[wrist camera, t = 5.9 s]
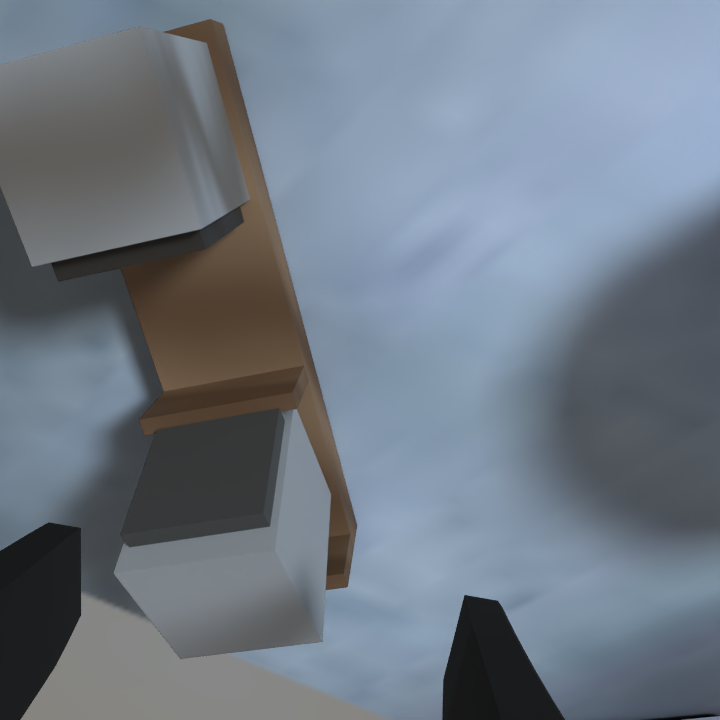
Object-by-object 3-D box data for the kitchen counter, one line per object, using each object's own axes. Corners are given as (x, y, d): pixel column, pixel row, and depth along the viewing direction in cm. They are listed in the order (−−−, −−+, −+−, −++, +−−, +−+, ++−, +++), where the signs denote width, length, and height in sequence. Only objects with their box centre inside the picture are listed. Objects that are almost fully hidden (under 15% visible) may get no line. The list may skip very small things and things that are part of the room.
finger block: (331, 494, 22) (322, 641, 18) (213, 512, 23) (180, 658, 19) (288, 390, 19) (268, 536, 15) (156, 413, 20) (103, 560, 16)
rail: (357, 525, 24) (338, 649, 18) (233, 543, 24) (181, 667, 19) (223, 24, 18) (142, -6, 13) (70, 65, 19) (-65, 53, 14)
